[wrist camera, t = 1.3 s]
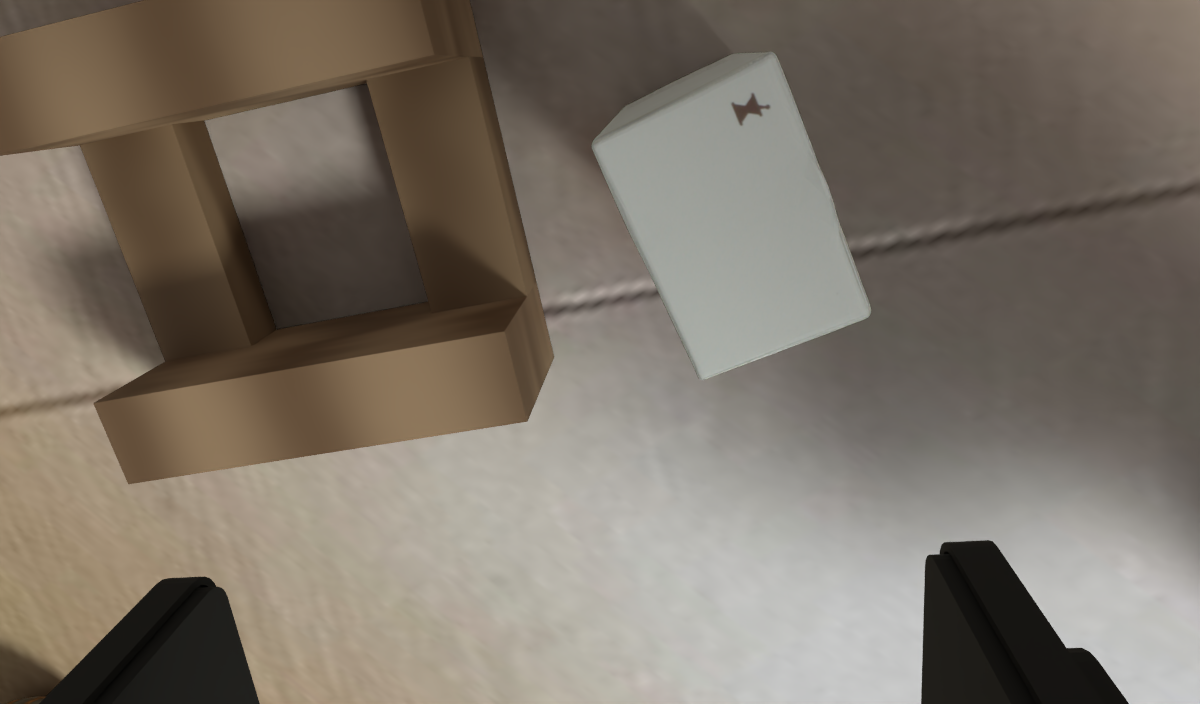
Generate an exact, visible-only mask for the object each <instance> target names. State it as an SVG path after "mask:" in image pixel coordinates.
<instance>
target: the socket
mask: <svg viewBox="0 0 1200 704" xmlns="http://www.w3.org/2000/svg"><path fill="white" fill-rule="evenodd" d="M363 84H367V85H368V88H369V92H370V95H371V99H372V103H373V106H374V110H375V113H376V117H377V120H378V124H379V127H380V131H381V135H382V138H383V142H384V145H385V149H386V152H387V156H388V159H389V163H390V167H391V170H392V174H393V177H394V181H395V184H396V188H397V191H398V195H399V199H400V202H401V206H402V209H403V213H404V216H405V220H406V223H407V227H408V230H409V234H410V238H411V241H412V245H413V248H414V252H415V255H416V259H417V262H418V266H419V270H420V273H421V277H422V280H423V284H424V287H425V291H426V294H427V298H428V302H424V303H419V304H413V305H408V306H402V307H397V308H391V309H386V310H380V311H375V312H369V313H364V314H358V315H353V316H348V317H342V318H337V319H331V320H326V321H320V322H315V323H309V324H304V325H298V326H293V327H287V328H282V329H277V330H276V327H275V324H274V321H273V318H272V316H271V313H270V310H269V307H268V304H267V301H266V298H265V295H264V292H263V290H262V287H261V284H260V281H259V278H258V275H257V272H256V269H255V266H254V264H253V261H252V258H251V255H250V252H249V249H248V246H247V243H246V240H245V237H244V235H243V232H242V229H241V226H240V223H239V220H238V217H237V214H236V211H235V209H234V206H233V203H232V200H231V197H230V194H229V191H228V188H227V185H226V183H225V180H224V177H223V174H222V171H221V168H220V165H219V162H218V159H217V156H216V154H215V151H214V148H213V145H212V142H211V139H210V136H209V133H208V130H207V128H206V125H205V122H204V120H209V119H213V118H217V117H222V116H226V115H231V114H235V113H239V112H244V111H248V110H253V109H257V108H261V107H266V106H270V105H275V104H279V103H283V102H288V101H292V100H297V99H301V98H305V97H310V96H314V95H319V94H323V93H327V92H332V91H336V90H341V89H345V88H349V87H354V86H358V85H363ZM78 145H80V147H81V149H82V152H83V154H84V157H85V159H86V162H87V164H88V167H89V169H90V172H91V174H92V177H93V179H94V182H95V185H96V187H97V190H98V192H99V195H100V197H101V200H102V202H103V205H104V207H105V210H106V212H107V215H108V217H109V220H110V222H111V225H112V228H113V230H114V233H115V235H116V238H117V240H118V243H119V245H120V248H121V250H122V253H123V255H124V258H125V260H126V263H127V265H128V268H129V271H130V273H131V276H132V278H133V281H134V283H135V286H136V288H137V291H138V293H139V296H140V298H141V301H142V303H143V306H144V309H145V311H146V314H147V316H148V319H149V321H150V324H151V326H152V329H153V331H154V334H155V336H156V339H157V341H158V344H159V346H160V349H161V352H162V354H163V357H164V359H165V362H164V363H162V364H160V365H159V366H157V367H155V368H154V369H152V370H150V371H148V372H147V373H145V374H143V375H141V376H140V377H138V378H136V379H135V380H133V381H131V382H129V383H128V384H126V385H124V386H122V387H121V388H119V389H117V390H116V391H114V392H112V393H110V394H109V395H107V396H105V397H103V398H102V399H100V400H98V401H97V402H95V403H94V406H95V408H96V410H97V413H98V415H99V417H100V420H101V422H102V424H103V427H104V429H105V431H106V434H107V436H108V438H109V440H110V443H111V445H112V447H113V450H114V452H115V454H116V457H117V459H118V461H119V464H120V466H121V468H122V471H123V473H124V475H125V478H126V480H127V482H128V484H133V483H139V482H145V481H152V480H158V479H164V478H171V477H177V476H184V475H190V474H196V473H203V472H209V471H215V470H222V469H228V468H234V467H241V466H247V465H254V464H260V463H266V462H273V461H279V460H285V459H292V458H298V457H304V456H311V455H317V454H323V453H330V452H336V451H343V450H349V449H355V448H362V447H368V446H374V445H381V444H387V443H393V442H400V441H406V440H413V439H419V438H425V437H432V436H438V435H444V434H451V433H457V432H463V431H470V430H476V429H482V428H489V427H495V426H502V425H508V424H514V423H521V422H527V421H528V419H529V416H530V414H531V411H532V409H533V407H534V404H535V402H536V399H537V397H538V395H539V392H540V390H541V387H542V385H543V383H544V380H545V378H546V375H547V373H548V371H549V368H550V366H551V363H552V361H553V359H554V355H553V350H552V346H551V342H550V338H549V334H548V329H547V325H546V321H545V317H544V312H543V308H542V304H541V300H540V295H539V291H538V287H537V283H536V279H535V274H534V270H533V266H532V262H531V257H530V253H529V249H528V245H527V241H526V236H525V232H524V228H523V224H522V219H521V215H520V211H519V207H518V203H517V198H516V194H515V190H514V186H513V181H512V177H511V173H510V169H509V165H508V160H507V156H506V152H505V148H504V143H503V139H502V135H501V131H500V127H499V122H498V118H497V114H496V110H495V105H494V101H493V97H492V93H491V89H490V84H489V80H488V76H487V72H486V67H485V63H484V59H483V55H482V51H481V46H480V42H479V38H478V34H477V29H476V25H475V21H474V17H473V13H472V8H471V4H470V0H143V1H139V2H135V3H131V4H127V5H124V6H120V7H116V8H112V9H108V10H104V11H100V12H96V13H92V14H88V15H84V16H80V17H76V18H72V19H68V20H65V21H61V22H57V23H53V24H49V25H45V26H41V27H37V28H33V29H29V30H25V31H21V32H17V33H13V34H10V35H6V36H2V37H0V156H2V155H9V154H17V153H24V152H32V151H40V150H47V149H55V148H62V147H70V146H78Z"/></svg>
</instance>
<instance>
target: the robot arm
mask: <svg viewBox="0 0 1200 704" xmlns="http://www.w3.org/2000/svg"><path fill="white" fill-rule="evenodd" d="M39 704H259V700H258V697H257V694H256V690H255V687H254V684H253V680H252V677H251V674H250V670H249V667H248V664H247V660H246V657H245V654H244V650H243V647H242V644H241V640H240V637H239V634H238V630H237V627H236V624H235V620H234V617H233V614H232V610H231V607H230V604H229V600H228V597H227V595H226V592H225V591H224V590H223V589H222V588H220V587H216V585H215V583H214V582H213V581H212V580H211V579H210V578H207V577H187V578H168V579H164V580H162V581H160V582H159V583H157V584H156V585H155V586H154V587H153V588H152V589H151V590H150V591H149V592H148V593H147V594H146V595H145V596H144V597H143V598H142V599H141V600H140V601H139V603H138V604H137V605H136V606H135V607H134V608H133V609H132V610H131V611H130V612H129V613H128V614H127V615H126V616H125V617H124V618H123V619H122V620H121V621H120V622H119V623H118V624H117V625H116V626H115V627H114V628H113V629H112V630H111V631H110V632H109V633H108V634H107V635H106V636H105V637H104V638H103V639H102V640H101V641H100V642H99V643H98V644H97V645H96V646H95V647H94V648H93V649H92V650H91V651H90V652H89V653H88V654H87V655H86V656H85V657H84V658H83V659H82V660H81V661H80V663H79V664H78V665H77V666H76V667H75V668H74V669H73V670H72V671H71V672H70V673H69V674H68V675H67V676H66V677H65V678H64V679H63V680H62V681H61V682H60V683H59V684H58V685H57V686H56V687H55V688H54V689H53V690H52V691H51V692H50V693H49V694H48V695H47V696H46V697H45V698H44V699H43V700H42V701H41V702H40V703H39ZM921 704H1129V703H1128V702H1127V700H1126V699H1125V698H1124V696H1123V695H1122V694H1121V692H1120V691H1119V689H1118V688H1117V687H1116V685H1115V684H1114V682H1113V681H1112V680H1111V678H1110V677H1109V675H1108V674H1107V673H1106V671H1105V670H1104V669H1103V667H1102V666H1101V664H1100V663H1099V662H1098V660H1097V659H1096V658H1095V657H1094V656H1093V655H1092V654H1091V653H1090V652H1089V651H1087V650H1085V649H1083V648H1066V647H1065V645H1064V644H1063V642H1062V641H1061V640H1060V638H1059V637H1058V635H1057V634H1056V632H1055V631H1054V629H1053V628H1052V626H1051V625H1050V623H1049V622H1048V620H1047V619H1046V618H1045V616H1044V615H1043V613H1042V612H1041V610H1040V609H1039V607H1038V606H1037V604H1036V603H1035V601H1034V600H1033V598H1032V597H1031V596H1030V594H1029V593H1028V591H1027V590H1026V588H1025V587H1024V585H1023V584H1022V582H1021V581H1020V579H1019V578H1018V576H1017V575H1016V574H1015V572H1014V571H1013V569H1012V568H1011V566H1010V565H1009V563H1008V562H1007V560H1006V559H1005V557H1004V556H1003V554H1002V553H1001V552H1000V550H999V549H998V547H997V546H996V545H995V544H994V542H993V541H989V540H987V541H965V542H944V543H943V544H942V546H941V549H940V555H928V556H927V558H926V564H925V592H924V628H923V664H922V699H921Z"/></svg>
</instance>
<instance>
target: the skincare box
mask: <svg viewBox="0 0 1200 704" xmlns="http://www.w3.org/2000/svg"><path fill="white" fill-rule="evenodd" d="M591 147H592V150H593V152H594V154H595V157H596V159H597V161H598V163H599V166H600V168H601V170H602V173H603V175H604V178H605V180H606V182H607V185H608V187H609V189H610V192H611V194H612V196H613V199H614V201H615V203H616V205H617V208H618V210H619V212H620V214H621V216H622V218H623V221H624V223H625V225H626V227H627V229H628V231H629V234H630V236H631V238H632V240H633V242H634V244H635V246H636V247H637V249H638V251H639V253H640V255H641V257H642V259H643V261H644V263H645V265H646V267H647V269H648V271H649V274H650V276H651V278H652V280H653V282H654V284H655V286H656V288H657V290H658V292H659V295H660V297H661V299H662V301H663V303H664V305H665V307H666V310H667V312H668V314H669V316H670V318H671V320H672V322H673V324H674V326H675V328H676V331H677V333H678V335H679V337H680V339H681V341H682V343H683V346H684V348H685V350H686V352H687V354H688V356H689V358H690V360H691V362H692V364H693V367H694V369H695V371H696V374H697V376H698V378H699V379H700V380H706V379H708V378H710V377H713V376H715V375H718V374H721V373H723V372H726V371H729V370H732V369H734V368H737V367H740V366H742V365H745V364H748V363H750V362H753V361H756V360H758V359H761V358H764V357H766V356H769V355H772V354H774V353H777V352H780V351H782V350H785V349H788V348H790V347H793V346H796V345H798V344H801V343H804V342H807V341H809V340H812V339H815V338H817V337H820V336H822V335H825V334H828V333H830V332H833V331H836V330H838V329H841V328H843V327H846V326H849V325H851V324H854V323H857V322H859V321H862V320H864V319H867V318H868V317H869V316H870V314H871V306H870V303H869V301H868V298H867V295H866V293H865V290H864V287H863V284H862V282H861V279H860V276H859V274H858V271H857V268H856V266H855V263H854V260H853V258H852V255H851V252H850V250H849V247H848V244H847V241H846V239H845V236H844V233H843V231H842V228H841V225H840V223H839V220H838V217H837V213H836V209H835V205H834V202H833V199H832V196H831V193H830V190H829V187H828V184H827V182H826V179H825V177H824V175H823V173H822V171H821V169H820V166H819V164H818V161H817V158H816V155H815V153H814V150H813V147H812V145H811V142H810V139H809V137H808V134H807V132H806V129H805V127H804V124H803V121H802V119H801V116H800V114H799V111H798V108H797V106H796V103H795V100H794V98H793V95H792V92H791V90H790V87H789V85H788V82H787V80H786V77H785V75H784V72H783V70H782V67H781V65H780V63H779V60H778V58H777V56H776V54H774V53H773V52H770V51H769V52H766V53H762V52H761V53H735V54H731V55H729V56H727V57H725V58H723V59H720V60H718V61H716V62H714V63H712V64H710V65H707V66H705V67H703V68H701V69H699V70H697V71H695V72H693V73H691V74H688V75H686V76H684V77H682V78H680V79H678V80H676V81H674V82H672V83H670V84H668V85H666V86H664V87H662V88H660V89H658V90H656V91H654V92H652V93H650V94H648V95H646V96H644V97H643V98H641V99H639V100H637V101H635V102H632V103H630V104H628V105H627V106H625V107H624V108H623V109H622V110H621V111H620V112H619V113H618V114H617V115H616V116H615V118H614V119H613V120H612V121H611V122H610V123H609V124H608V125H607V126H606V127H605V128H604V129H603V130H602V132H601V133H600V134H599V135H598V136H597V137H596V138H595V139H594V140H593V142H592V146H591Z"/></svg>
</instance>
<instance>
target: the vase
mask: <svg viewBox="0 0 1200 704" xmlns="http://www.w3.org/2000/svg"><path fill="white" fill-rule="evenodd" d="M44 698H45V697H28V698H23V699H17V700H13V701H10V702H7V703H5V704H39V703H40V702H41V701H42V700H43V699H44Z"/></svg>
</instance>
